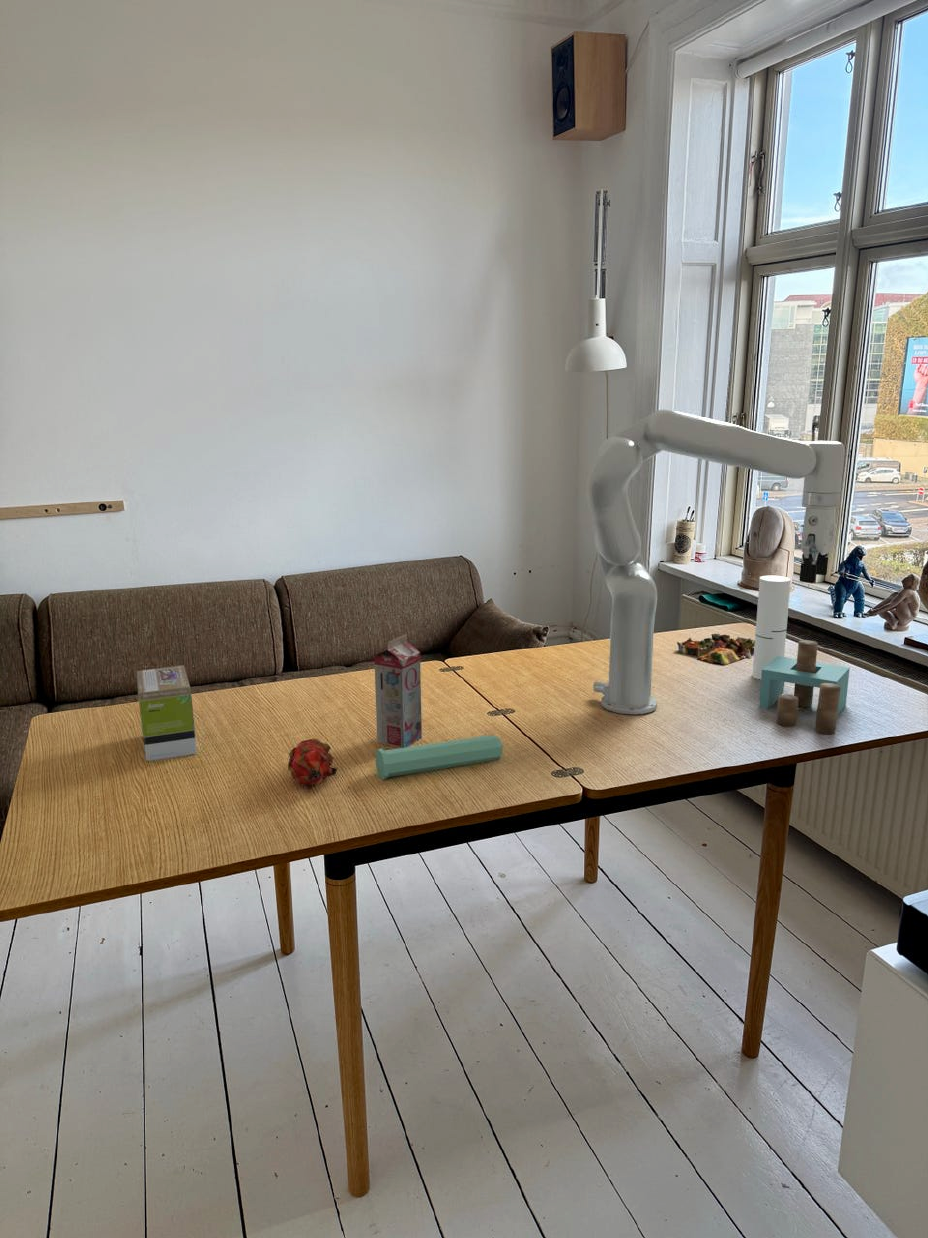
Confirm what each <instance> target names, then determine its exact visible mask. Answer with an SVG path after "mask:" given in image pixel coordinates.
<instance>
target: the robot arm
mask: <svg viewBox="0 0 928 1238" xmlns="http://www.w3.org/2000/svg"><path fill="white" fill-rule="evenodd" d="M662 451H664V452H666V453H667V452H668V453H673V454H676V455H681V456H684V457H685V456H687V457H690V458H695V459H699V460H702V461H708V462H712V463H717V464H721V465H724V466H728V467H736V468H744V469H748V470H753V471H758V472H760V473H766V474H769V475H770V474H771V475H775V476H779V477H783V478H787V479H793V480H799V479H803V478H804V479H803V489H802V499H801V500H802V501H801V507H803V508H805V510H804V511H805V512H804V517H803V518H804V520H803V525H802V534H801V545H800V546H801V547H800V550H801V552H802V553H801V559H800V568H799V569H800V571H799V572H800V573H799V582H800V583H809V584H815V583H816V582H817V581H816V580H817V575H818V576H826V575H828V565H829V552H832V550H834V548H835V542H836V539H835V538H836V521H837V509H839V508H840V502H841V501H840V500H841V492H842V482H843V472H844V463H845V453H846V448H845V445H844V443H842V442H840V441H835V440H833V441H832V440H815V441H801V440H793V439H787V438H783V437H779V436H774V435H770V434H767V433H762V432H759V431H754V430H751V429H749V428H745V427H744V426H740V425H737V424H733V423H729V422H726V421H721V420H716V419H712V418H708V417H702V416H699V415H698V416H697V415H695V414H689V413H687V412H686V413H685V412H681V411H676V410H672V409H667V408H666V409H665V408H664V409H659V410H656V411H654V412H652V413H650V414H649V415H647V416H645V417H644V418H641V419H640V420H639V421H637V422H634V423H633V424H631V425H630V426H628V427H625V428H624V429H623V430H621V431H619V432H617V433H615V434H614V435H611V436H610V437H608V438H607V439H606V440H605V441H604V442H603V443H601V446H599V450H598V453H597V455H598V456H597V460H596V461H595V463H594V465H593V466H592V468H591V471H590V473H589V476H588V479H587V482H586V483H587V484H586V496H587V501H588V502H587V503H588V507H589V510H590V514H591V515H590V516H591V519H592V522H593V525H594V529H595V532H594V536H593V537H594V545H595V546H594V547H595V550H596V554H597V556H598V557H597V558H598V560H599V563H600V566H601V570H602V573H603V577H604V580H605V584H606V585H607V590H608V591H609V594H610V595H611V598H612V599H611V600H612V602H611V605H612V606H611V616H610V629H609V631H610V633H609V634H610V635H609V657H608V658H609V662H608V663H609V664H608V681H607V682H606V683H605V682H604V681H598V680H595V681H594V682H593V686H592V687H593V692H595V693H599V694H602V695H603V696H602V697H601V700H600V705H601V706H602V707H603V708H604V709H606V710H607V711H609V712H613V713H616V714H617V713H618V714H621V715H622V714H623V715H644V714H648V713H651V712H654V711H655V710H656V709H657V708H658V701H657V699H656V698H654V697H653V696H651V695H652V694H651V693H652V674H653V672H652V671H653V659H654V655H653V654H654V653H653V652H654V634H655V633H654V632H655V618H656V612H657V611H656V610H657V606H658V591H657V590H658V589H657V585H656V583H655V581H654V579H653V578H652V576H651V574H650V573H649V572H648V571H647V568H646V565H645V563H644V562H645V561H644V560H643V555H642V552H641V549H642V539H641V538H642V537H641V536H640V533H639V531H638V529H637V525H636V521H635V519H634V515H633V513H632V508H631V503H630V499H629V495H628V489H629V483H630V481H631V480H632V478H633V477H634V476H635V475H636V474H637V473H638V472H639V471H640V469H641V467H642V464H643V462H644V463H645V461H647V460H649V459H651V458H652V457H654V456H656V455H658V454H659V453H661V452H662Z"/></svg>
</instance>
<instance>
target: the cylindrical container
mask: <svg viewBox="0 0 928 1238" xmlns="http://www.w3.org/2000/svg"><path fill="white" fill-rule="evenodd" d="M791 579H792V578H790V577H788V576H782V575H772V574H771V575H762V576H759V583H758V597H757V598H758V599H757V606H756V607H757V610H756V611H757V612H756V621H755V635H754V640H755V646H754V647H753V648H754V649H753V663H752V672H751V673H752V678H754V679H755V678H757V679H756V680H758V679H761V676H762V669H763V668H764V667H765V666H767V665H768V664H769V663H770V662H771V661H772V660H774V659H775V658H776V657H777V656H780V657H785V651H786V641H787V627H788V617H789V616H788V615H789V606H790V605H789V603H790V593H791V591H790V590H791V581H792V580H791Z"/></svg>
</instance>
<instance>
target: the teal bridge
mask: <svg viewBox="0 0 928 1238" xmlns="http://www.w3.org/2000/svg"><path fill="white" fill-rule="evenodd" d="M796 666H797V658H791V657H785V656H784V657H780V656H777V657H776V658H775V659H774V660H772V661H771V662H770V663H769V664H768V665H767V666H765V667H764V668H763V669H762V676H761V680H760V690H759V691H760V692H759V704H758V708H761V709H765V708H768V709H769V708H771V707H772V706H773V705H774V704H775V703H777V702H778V698H779V695H782V694H783V695H784V689H785V688H784V687H785V683H789V684H794V685H795V684H800V685H806V686H812V687H814V688H819V689H820V684H822V683H832V684H836V685H839V686H840V687H841V690H840V698H839V706H838V714H837V717H838V715H840V713H841V712H842V711H843V710H844V708H845V707H846V706H847V697H848V687H849V680H850V679H849V678H850V669H851V668H850V667H849V666H844V665H843V666H842V665H835V664H829V663H824V662H818V661H816V667H815V674H814V673H808V672H802V671H796Z"/></svg>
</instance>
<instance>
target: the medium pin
mask: <svg viewBox="0 0 928 1238" xmlns="http://www.w3.org/2000/svg"><path fill="white" fill-rule="evenodd" d="M840 690H841V687H840V686H839V685H836V684H832V683H822V684H820V688H819V692H818V701H817V708H816V718H815V723H814V724H815V725H814V731H815V732H816V733H818V734H821V735H829V736H830V735H834V734H836V728H837V722H838V721H837V720H838V716H837V714H838V706H839V698H840ZM838 715H839V714H838Z"/></svg>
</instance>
